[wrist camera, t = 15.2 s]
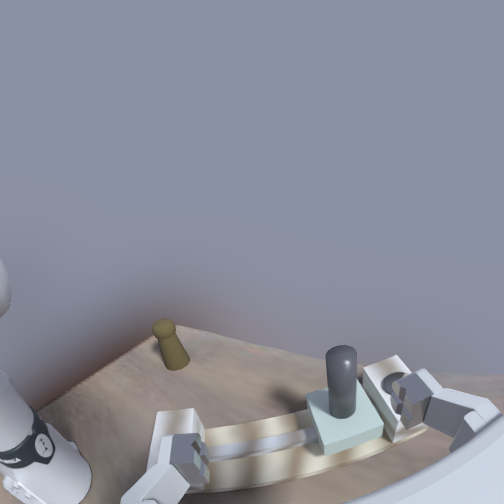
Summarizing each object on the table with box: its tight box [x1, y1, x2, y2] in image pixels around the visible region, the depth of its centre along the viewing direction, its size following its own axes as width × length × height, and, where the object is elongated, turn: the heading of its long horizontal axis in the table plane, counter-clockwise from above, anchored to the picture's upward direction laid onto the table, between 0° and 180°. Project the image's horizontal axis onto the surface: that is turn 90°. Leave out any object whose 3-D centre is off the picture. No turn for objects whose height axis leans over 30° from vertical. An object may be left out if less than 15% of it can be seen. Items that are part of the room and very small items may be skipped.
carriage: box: [306, 345, 384, 456], centre depth 32 cm, size 8×10×14 cm
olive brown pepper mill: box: [152, 319, 190, 370], centre depth 59 cm, size 6×6×11 cm
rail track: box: [146, 355, 428, 494], centre depth 33 cm, size 38×12×7 cm, turn 96°
